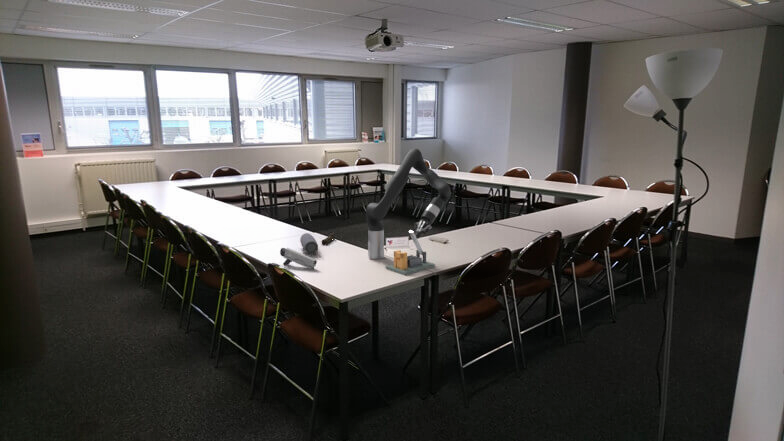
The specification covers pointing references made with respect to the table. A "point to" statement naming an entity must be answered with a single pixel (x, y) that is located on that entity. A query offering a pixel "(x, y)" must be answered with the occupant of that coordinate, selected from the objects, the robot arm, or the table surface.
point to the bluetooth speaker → (309, 243)
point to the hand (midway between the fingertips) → (415, 238)
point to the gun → (297, 258)
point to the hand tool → (328, 239)
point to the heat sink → (413, 261)
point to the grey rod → (416, 242)
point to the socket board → (414, 269)
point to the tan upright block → (400, 260)
